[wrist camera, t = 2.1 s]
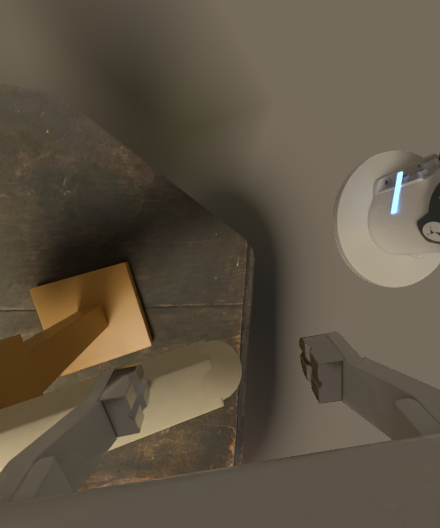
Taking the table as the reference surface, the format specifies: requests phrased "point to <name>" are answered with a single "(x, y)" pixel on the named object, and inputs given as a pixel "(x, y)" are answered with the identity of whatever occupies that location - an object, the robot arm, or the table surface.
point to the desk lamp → (74, 331)
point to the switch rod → (160, 397)
